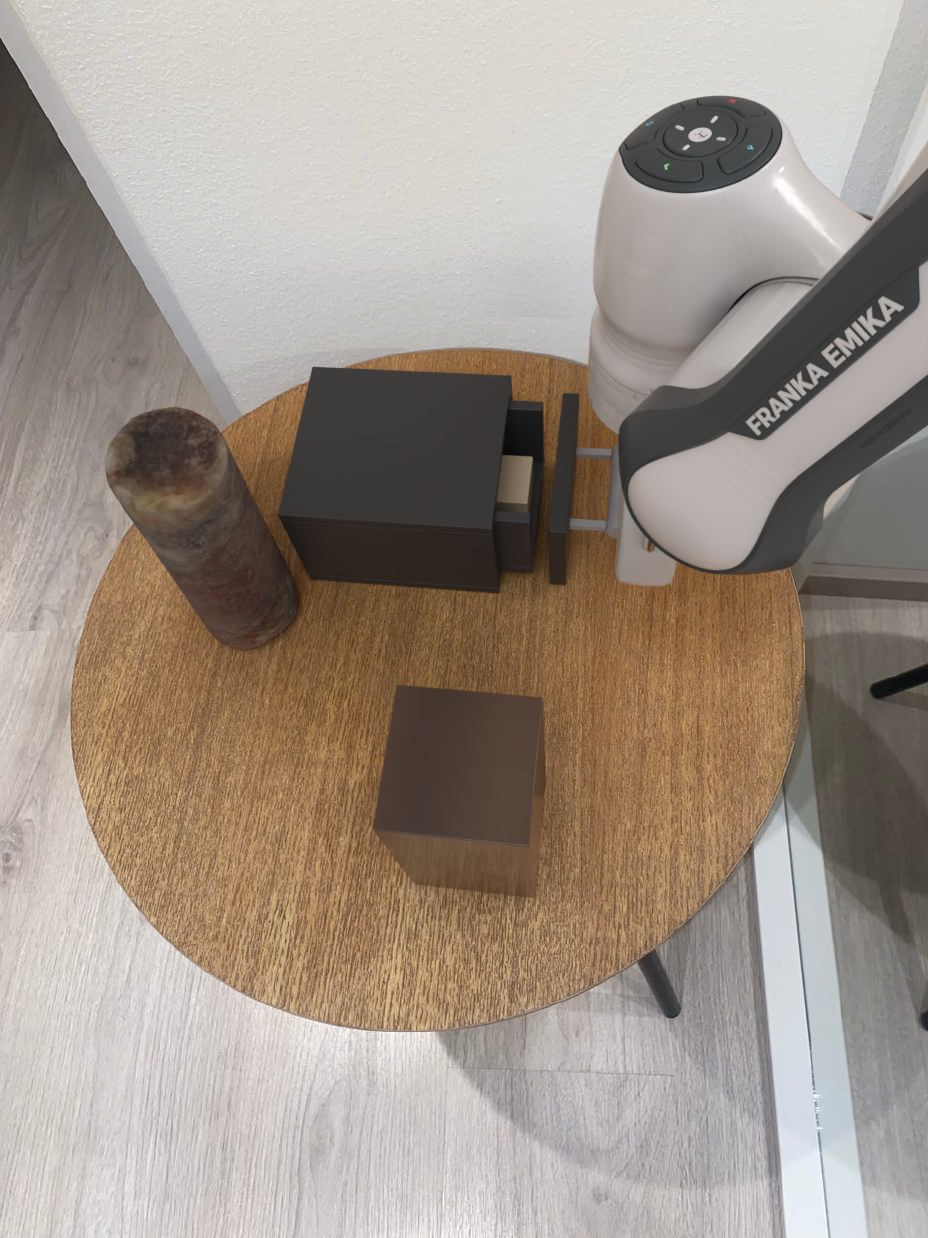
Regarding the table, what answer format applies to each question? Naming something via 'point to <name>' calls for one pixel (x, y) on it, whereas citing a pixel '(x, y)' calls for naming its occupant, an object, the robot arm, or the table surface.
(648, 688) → the table surface
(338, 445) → the dark box sleeve
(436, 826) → the stand
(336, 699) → the table surface
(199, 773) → the table surface
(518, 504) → the cube
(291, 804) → the table surface
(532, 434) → the drawer
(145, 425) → the brown cylinder
